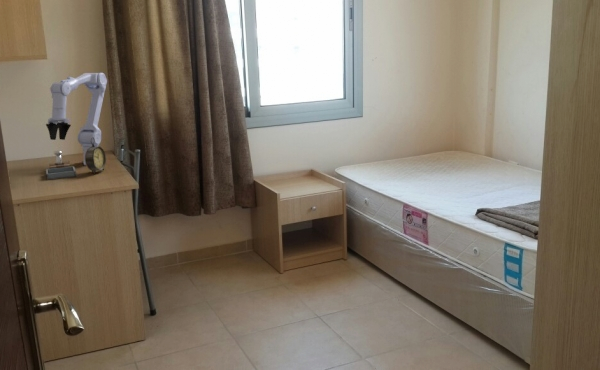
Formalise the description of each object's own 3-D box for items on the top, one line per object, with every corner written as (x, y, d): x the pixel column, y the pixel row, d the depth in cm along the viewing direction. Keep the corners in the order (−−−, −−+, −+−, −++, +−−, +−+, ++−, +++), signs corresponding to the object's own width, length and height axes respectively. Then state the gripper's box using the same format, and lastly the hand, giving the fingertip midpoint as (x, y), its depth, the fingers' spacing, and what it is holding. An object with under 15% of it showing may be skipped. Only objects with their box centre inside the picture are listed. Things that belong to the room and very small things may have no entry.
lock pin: (56, 170, 294) (53, 151, 292) (64, 169, 295) (61, 150, 293) (56, 171, 291) (54, 152, 289) (64, 170, 292) (61, 151, 290)
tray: (46, 174, 285) (46, 169, 285) (74, 171, 290) (74, 166, 289) (47, 179, 276) (46, 174, 275) (76, 176, 280) (75, 171, 279)
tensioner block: (49, 169, 295) (48, 163, 295) (70, 167, 299) (69, 161, 298) (50, 173, 287) (49, 167, 287) (71, 171, 291) (70, 164, 290)
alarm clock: (95, 175, 281) (91, 139, 277) (84, 175, 282) (80, 139, 278) (107, 169, 291) (103, 135, 287) (97, 169, 292) (93, 135, 288)
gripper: (42, 108, 283) (40, 138, 283) (59, 107, 274) (58, 138, 274) (56, 110, 289) (55, 140, 289) (74, 109, 280) (72, 140, 280)
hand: (57, 139), depth 282 cm, fingers open, 7 cm apart
